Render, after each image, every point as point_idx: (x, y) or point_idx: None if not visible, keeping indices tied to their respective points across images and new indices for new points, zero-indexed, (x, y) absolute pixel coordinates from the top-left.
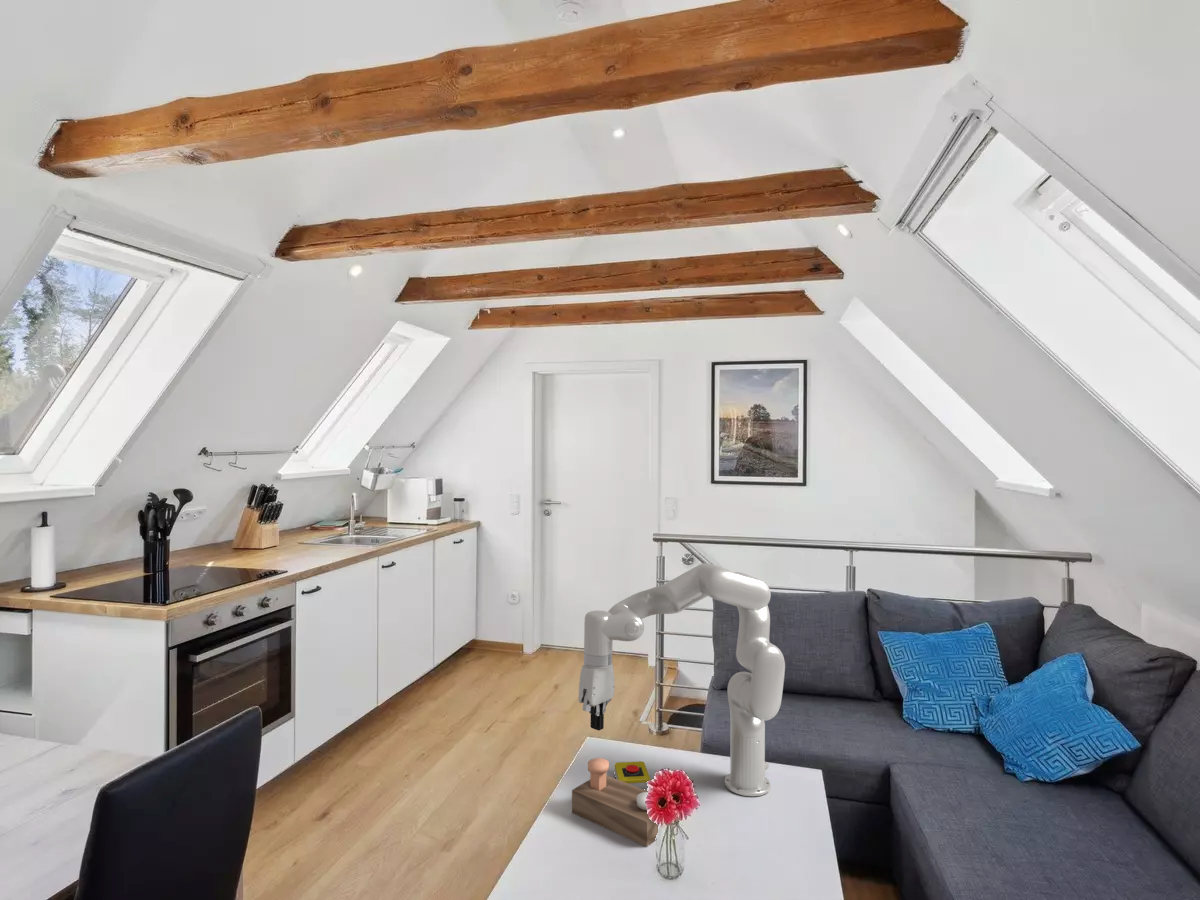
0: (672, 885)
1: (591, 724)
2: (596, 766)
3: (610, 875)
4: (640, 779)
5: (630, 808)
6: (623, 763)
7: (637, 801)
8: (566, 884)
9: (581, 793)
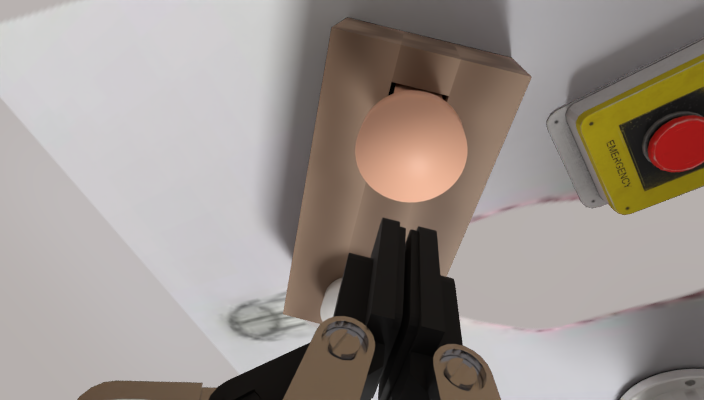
0: (218, 333)
1: (348, 257)
2: (370, 160)
3: (167, 234)
4: (611, 186)
5: (321, 262)
6: None
7: (330, 291)
8: (80, 166)
9: (325, 80)
